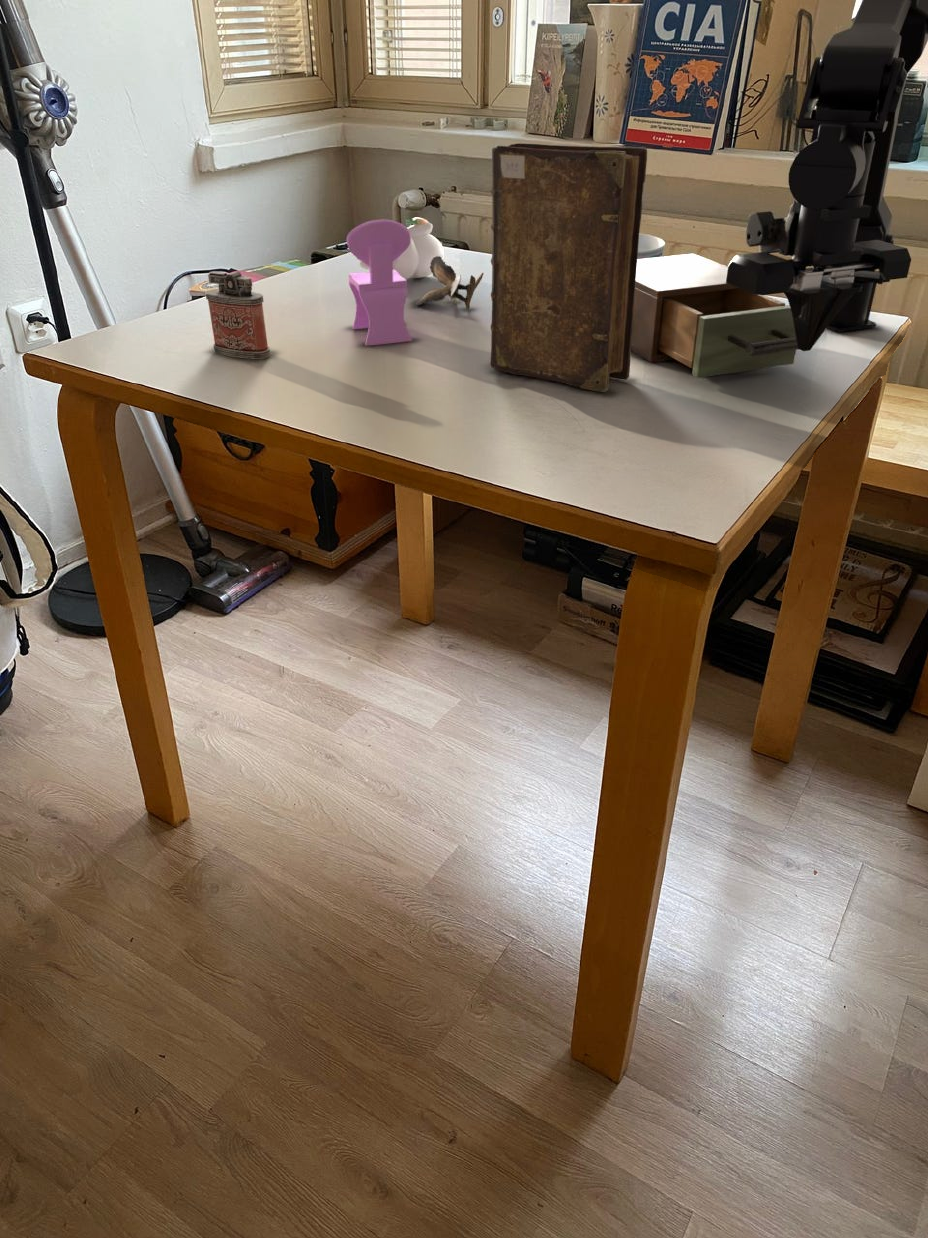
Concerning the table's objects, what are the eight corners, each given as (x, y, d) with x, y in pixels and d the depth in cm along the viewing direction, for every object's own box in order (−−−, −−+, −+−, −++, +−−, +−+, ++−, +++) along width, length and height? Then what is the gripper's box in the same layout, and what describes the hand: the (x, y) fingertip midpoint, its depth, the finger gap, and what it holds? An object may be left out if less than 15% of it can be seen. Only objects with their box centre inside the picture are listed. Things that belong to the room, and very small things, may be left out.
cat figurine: (440, 209, 153) (362, 209, 144) (464, 243, 150) (386, 245, 142) (419, 257, 160) (344, 259, 152) (442, 290, 158) (366, 295, 149)
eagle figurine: (486, 292, 141) (433, 275, 143) (482, 257, 134) (427, 240, 137) (463, 330, 139) (410, 312, 141) (458, 297, 132) (402, 278, 135)
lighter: (275, 352, 122) (265, 272, 116) (260, 360, 119) (249, 278, 114) (224, 345, 124) (212, 266, 119) (208, 352, 122) (195, 272, 116)
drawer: (822, 377, 109) (834, 318, 105) (723, 392, 105) (732, 331, 101) (725, 331, 124) (732, 277, 121) (635, 342, 121) (640, 288, 117)
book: (483, 369, 115) (483, 142, 102) (515, 354, 120) (520, 135, 106) (603, 396, 107) (621, 153, 93) (632, 379, 112) (654, 145, 98)
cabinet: (750, 348, 121) (761, 279, 116) (650, 362, 117) (658, 291, 112) (685, 316, 133) (693, 253, 129) (593, 328, 129) (597, 263, 124)
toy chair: (402, 322, 132) (397, 207, 124) (419, 340, 125) (415, 219, 117) (344, 328, 130) (335, 211, 122) (358, 346, 123) (349, 224, 115)
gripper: (855, 174, 101) (826, 320, 110) (706, 186, 96) (688, 339, 105) (932, 190, 93) (894, 347, 101) (772, 204, 87) (746, 369, 96)
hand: (803, 349), depth 101 cm, fingers closed
